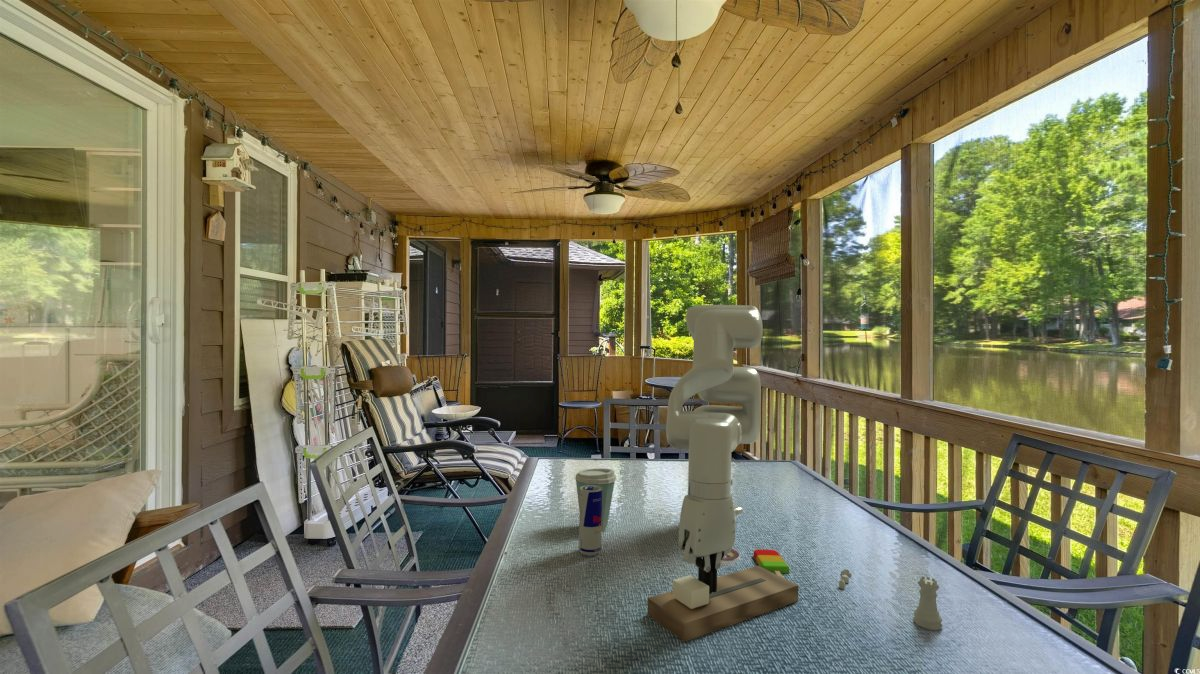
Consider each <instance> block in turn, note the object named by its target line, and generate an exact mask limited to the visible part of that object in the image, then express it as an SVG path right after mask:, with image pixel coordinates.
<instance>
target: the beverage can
mask: <svg viewBox="0 0 1200 674" xmlns="http://www.w3.org/2000/svg"><path fill="white" fill-rule="evenodd" d="M578 519H579V522H578V523H579V524H578V527H579V529H578V550H579V551H580V553H581V554H582V555H584V556H588V557H592V556H593V555H594V556H596V554H597V555H598V554H599V553H600V552H601V550H602V532H603V531H602V487H600V486H596V485H585V486H582V487H580V512H579V518H578ZM601 531H602V532H601ZM594 556H593V557H594Z"/></svg>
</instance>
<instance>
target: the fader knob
mask: <svg viewBox="0 0 1200 674" xmlns="http://www.w3.org/2000/svg"><path fill="white" fill-rule="evenodd" d="M672 591H673V597H674V598H675V599H677V600H678V601H680V602H681V603H683V604H685V605H686V606H688V607H689V608H691V609H693V608H696V607H699V606H702V605H705V604H708V603H709V586H708V585H706V584H705V583H703V582H701V581H699V580H698V578H696V577H694V576H693V575H686V576H682V577H678V578H675V579H673V580H672Z"/></svg>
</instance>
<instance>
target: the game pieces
mask: <svg viewBox="0 0 1200 674" xmlns="http://www.w3.org/2000/svg"><path fill="white" fill-rule="evenodd" d="M852 574H853V573H850V570H849V569H842V570H841V572H840V580H839V581H838V587H839V589H842V590H846V584H849V583H850V577H852Z"/></svg>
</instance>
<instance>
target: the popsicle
mask: <svg viewBox="0 0 1200 674" xmlns="http://www.w3.org/2000/svg"><path fill="white" fill-rule="evenodd" d="M753 558H754V560H755V562H756V563H757V564H758V565H757V566H760V567H762V568H764V569H766V570H768V571H770V572H772V573H774V574H776V575H778V576H780V577H782V578H784V579H785V577H784V576H783V574H790V567H789V565H788V564H787V563H786V561H785V560H784V559H783V557H782V556H781V555H780V552H778V551H777V550H774V549H755V550H754V551H753Z"/></svg>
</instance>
